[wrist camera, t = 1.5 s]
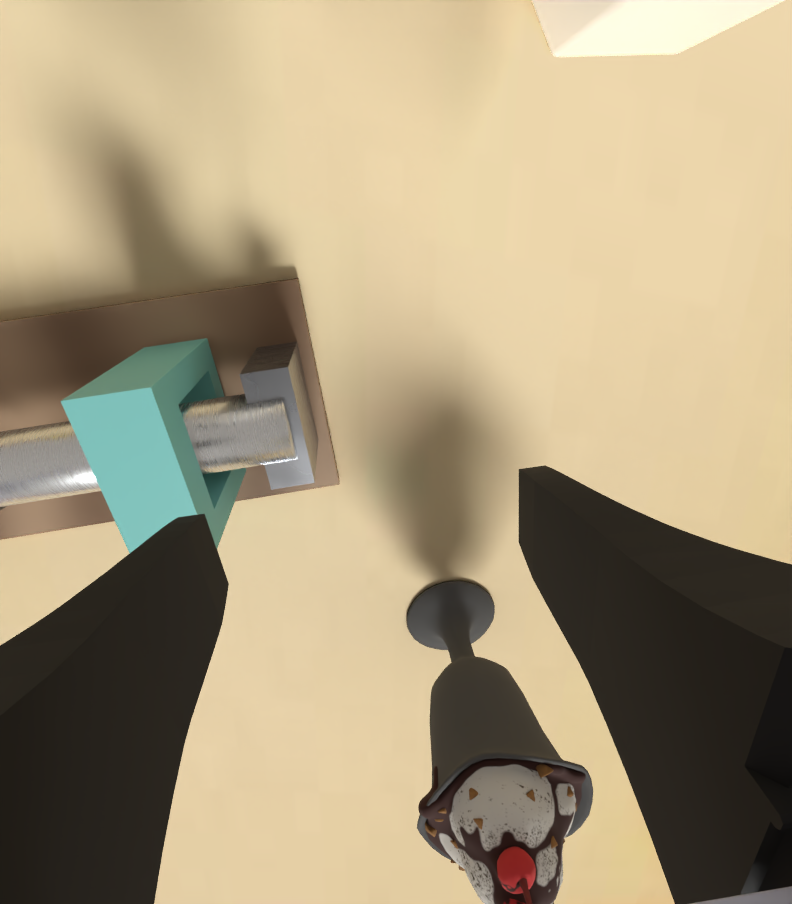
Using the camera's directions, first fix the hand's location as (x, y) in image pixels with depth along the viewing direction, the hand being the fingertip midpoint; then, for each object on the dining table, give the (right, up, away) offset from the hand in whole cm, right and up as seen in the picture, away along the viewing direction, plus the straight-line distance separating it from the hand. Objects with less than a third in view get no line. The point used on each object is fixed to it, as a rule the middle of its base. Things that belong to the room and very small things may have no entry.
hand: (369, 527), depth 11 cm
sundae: (+4, -7, +16) cm, 18 cm away
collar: (-8, +4, +9) cm, 13 cm away
